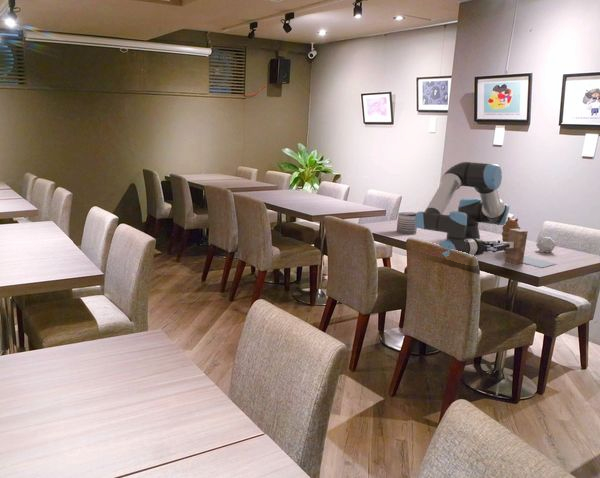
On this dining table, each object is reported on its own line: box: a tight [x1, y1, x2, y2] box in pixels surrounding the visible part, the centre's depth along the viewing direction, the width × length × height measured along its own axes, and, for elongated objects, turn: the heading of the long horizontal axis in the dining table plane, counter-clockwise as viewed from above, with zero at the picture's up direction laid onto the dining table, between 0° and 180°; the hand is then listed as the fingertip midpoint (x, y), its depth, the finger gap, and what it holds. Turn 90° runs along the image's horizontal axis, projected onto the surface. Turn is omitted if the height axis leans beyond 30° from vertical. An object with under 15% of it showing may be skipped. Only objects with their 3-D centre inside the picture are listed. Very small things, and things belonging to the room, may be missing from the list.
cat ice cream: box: [501, 216, 521, 253], centre depth 258 cm, size 9×8×18 cm
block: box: [504, 228, 529, 266], centre depth 236 cm, size 5×6×16 cm
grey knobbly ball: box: [535, 236, 557, 254], centre depth 266 cm, size 8×9×10 cm
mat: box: [523, 255, 557, 269], centre depth 244 cm, size 18×14×1 cm
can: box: [396, 211, 417, 236], centre depth 295 cm, size 11×11×12 cm
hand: (512, 244), depth 234 cm, fingers closed
